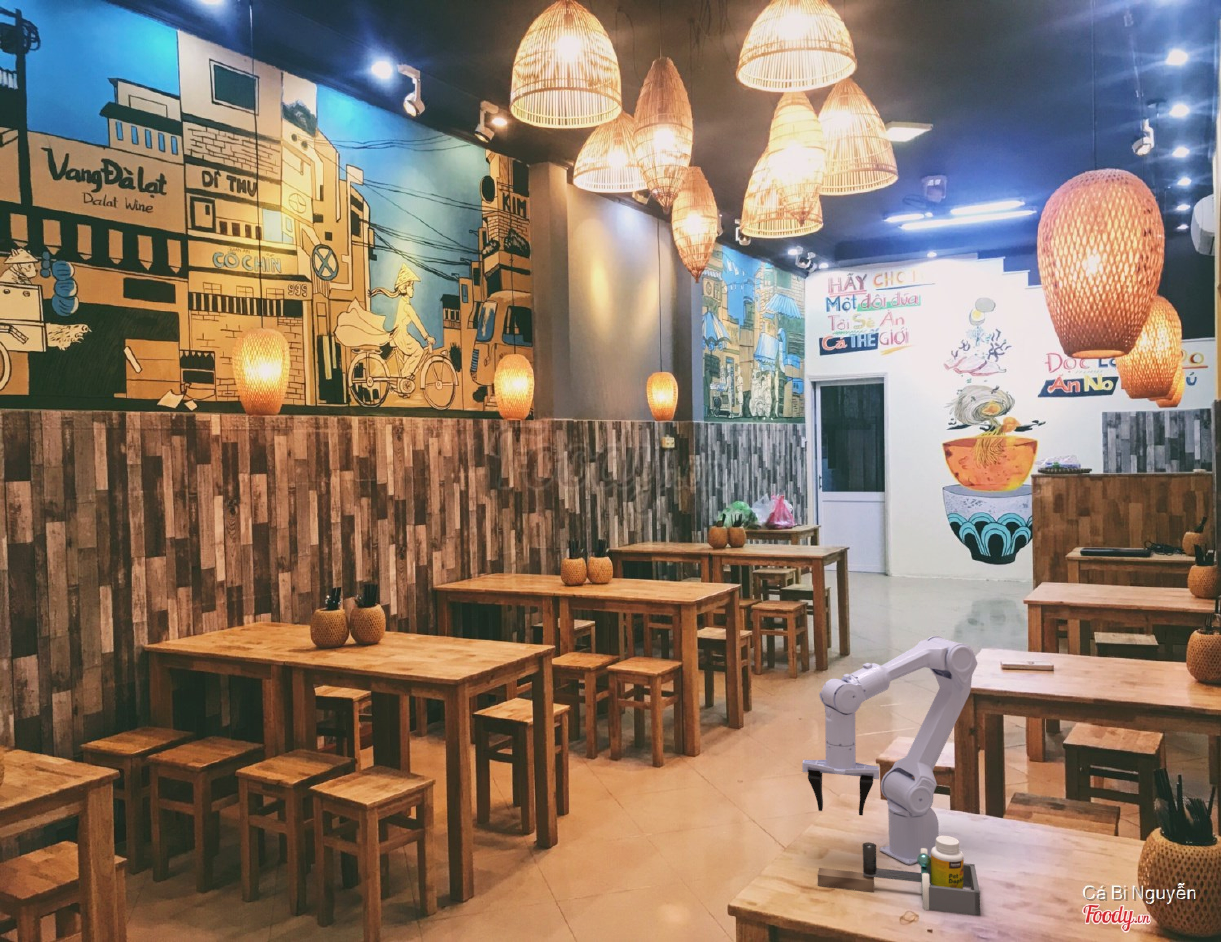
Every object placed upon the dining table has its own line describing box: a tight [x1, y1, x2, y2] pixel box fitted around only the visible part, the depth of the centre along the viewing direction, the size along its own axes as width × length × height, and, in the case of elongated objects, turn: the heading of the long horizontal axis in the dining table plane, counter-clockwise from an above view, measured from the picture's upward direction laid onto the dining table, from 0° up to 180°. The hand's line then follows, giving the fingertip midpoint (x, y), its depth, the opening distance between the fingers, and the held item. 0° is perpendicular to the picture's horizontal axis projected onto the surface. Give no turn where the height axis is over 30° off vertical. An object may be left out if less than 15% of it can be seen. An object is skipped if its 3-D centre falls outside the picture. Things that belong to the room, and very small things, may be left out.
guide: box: [817, 867, 875, 893], centre depth 169 cm, size 10×3×2 cm, turn 72°
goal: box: [921, 848, 981, 917], centre depth 164 cm, size 9×12×6 cm
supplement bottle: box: [930, 835, 965, 889], centre depth 164 cm, size 6×6×10 cm
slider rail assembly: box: [862, 841, 931, 901], centre depth 166 cm, size 12×7×8 cm, turn 72°
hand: (840, 811), depth 178 cm, fingers open, 7 cm apart
